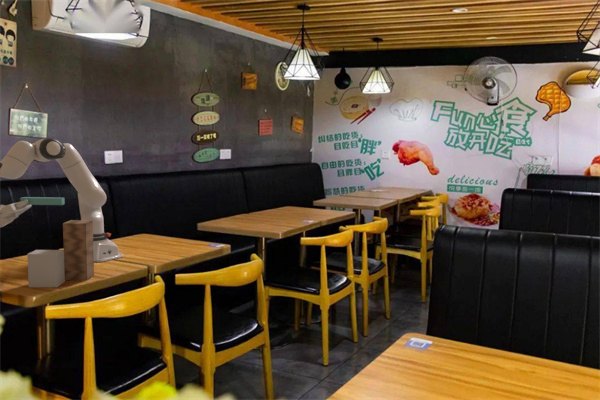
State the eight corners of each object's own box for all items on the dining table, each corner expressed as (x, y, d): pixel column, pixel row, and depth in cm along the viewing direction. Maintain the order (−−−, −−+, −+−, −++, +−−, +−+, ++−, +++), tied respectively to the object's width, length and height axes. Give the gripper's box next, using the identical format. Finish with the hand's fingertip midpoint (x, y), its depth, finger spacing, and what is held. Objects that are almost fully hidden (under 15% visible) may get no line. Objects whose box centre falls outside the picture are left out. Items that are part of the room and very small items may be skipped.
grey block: (28, 287, 239) (27, 254, 238) (37, 281, 248) (36, 249, 247) (57, 287, 240) (56, 254, 239) (64, 281, 249) (63, 249, 248)
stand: (64, 280, 252) (62, 223, 249) (72, 275, 261) (70, 220, 259) (87, 280, 252) (85, 223, 249) (94, 275, 262) (92, 220, 259)
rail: (20, 204, 249) (20, 197, 249) (23, 203, 253) (23, 197, 252) (61, 205, 250) (61, 198, 250) (64, 204, 254) (64, 197, 253)
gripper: (-12, 211, 240) (16, 196, 240) (10, 206, 260) (35, 191, 260) (-4, 224, 241) (24, 208, 241) (17, 217, 261) (43, 203, 261)
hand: (30, 199), depth 251 cm, fingers closed on rail, 3 cm apart
